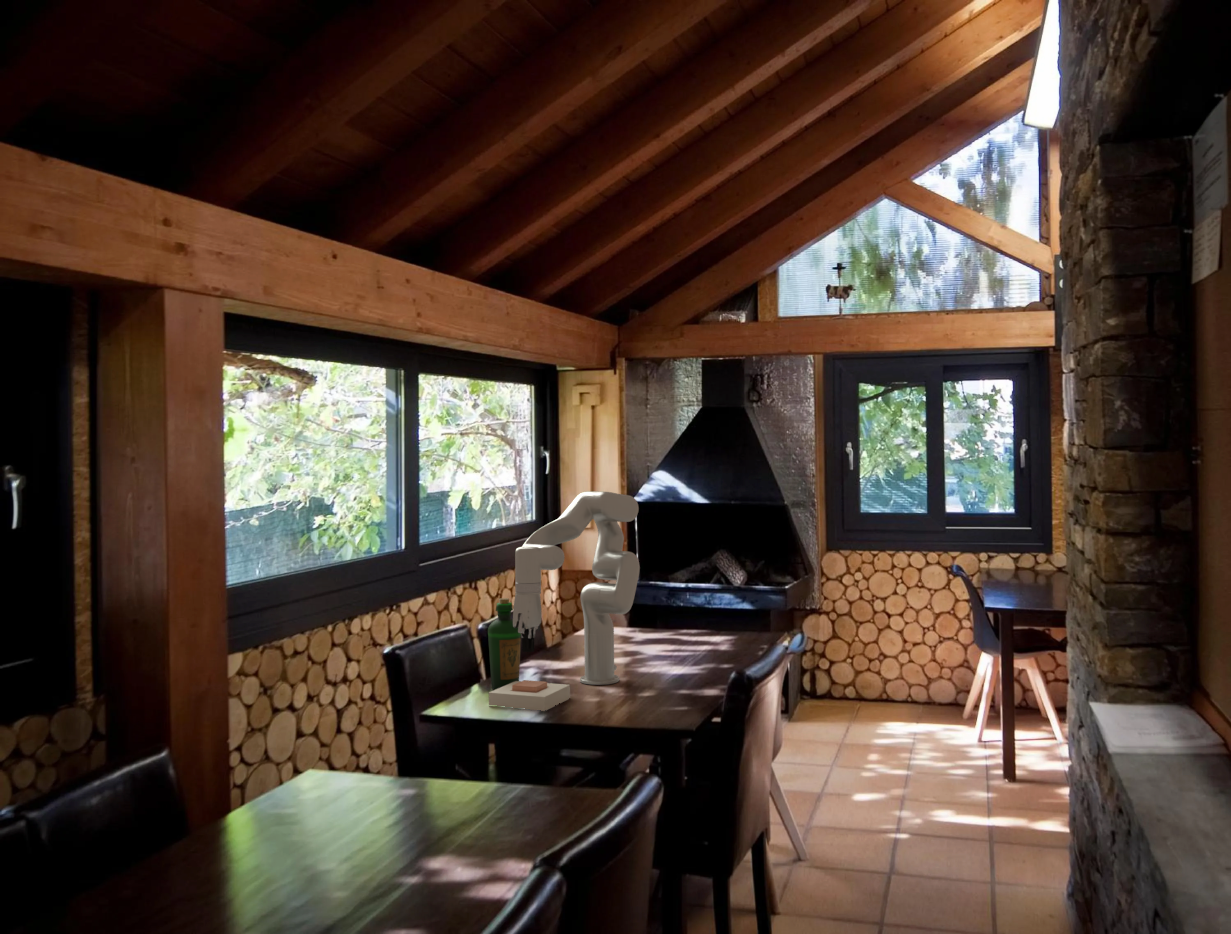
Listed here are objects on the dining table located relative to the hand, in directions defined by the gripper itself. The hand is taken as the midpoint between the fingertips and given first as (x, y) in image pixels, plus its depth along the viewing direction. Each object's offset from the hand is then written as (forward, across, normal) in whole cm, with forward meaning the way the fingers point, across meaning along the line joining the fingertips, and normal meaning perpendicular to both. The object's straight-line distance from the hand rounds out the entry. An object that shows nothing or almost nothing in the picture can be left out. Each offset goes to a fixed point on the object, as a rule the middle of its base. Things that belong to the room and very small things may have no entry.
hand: (528, 651), depth 300 cm
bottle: (+15, -15, -16) cm, 27 cm away
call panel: (+15, -1, 0) cm, 15 cm away
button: (+13, -1, 0) cm, 14 cm away
